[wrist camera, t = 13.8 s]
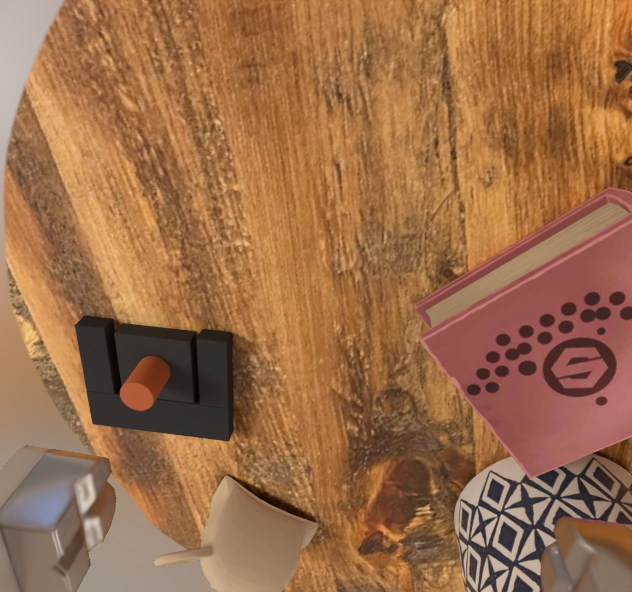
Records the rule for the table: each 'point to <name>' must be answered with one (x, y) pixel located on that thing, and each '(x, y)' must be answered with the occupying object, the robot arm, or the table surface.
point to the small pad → (165, 348)
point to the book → (546, 336)
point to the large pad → (165, 415)
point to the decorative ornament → (246, 543)
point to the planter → (530, 517)
